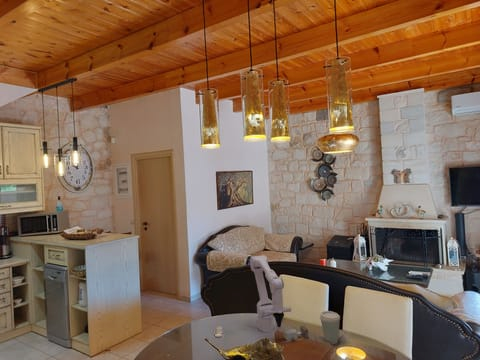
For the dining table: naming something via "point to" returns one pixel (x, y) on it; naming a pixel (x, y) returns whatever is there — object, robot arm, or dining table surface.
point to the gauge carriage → (291, 334)
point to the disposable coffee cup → (330, 326)
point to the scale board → (304, 334)
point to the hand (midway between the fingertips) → (278, 326)
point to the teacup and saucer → (219, 332)
